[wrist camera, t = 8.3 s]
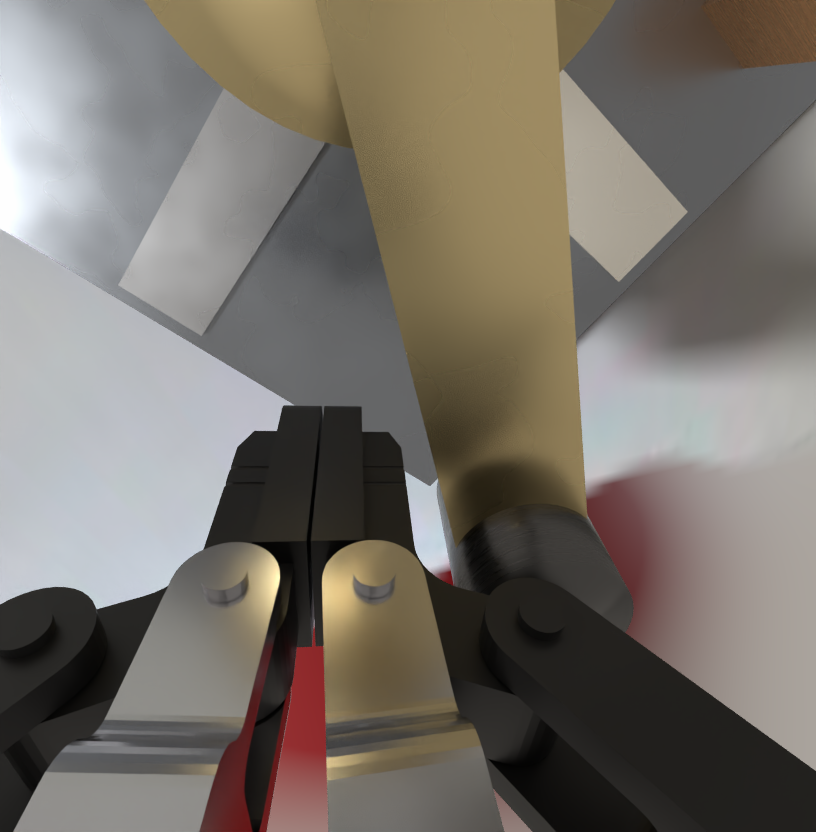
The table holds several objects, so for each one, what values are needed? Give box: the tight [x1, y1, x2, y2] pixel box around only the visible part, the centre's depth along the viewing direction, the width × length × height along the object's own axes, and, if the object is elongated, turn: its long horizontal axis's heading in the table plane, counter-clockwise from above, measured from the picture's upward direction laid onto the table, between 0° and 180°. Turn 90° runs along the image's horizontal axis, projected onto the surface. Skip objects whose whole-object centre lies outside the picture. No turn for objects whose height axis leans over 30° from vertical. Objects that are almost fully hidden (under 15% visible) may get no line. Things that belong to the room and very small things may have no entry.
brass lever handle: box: [144, 0, 633, 632], centre depth 7 cm, size 15×7×4 cm, turn 13°
